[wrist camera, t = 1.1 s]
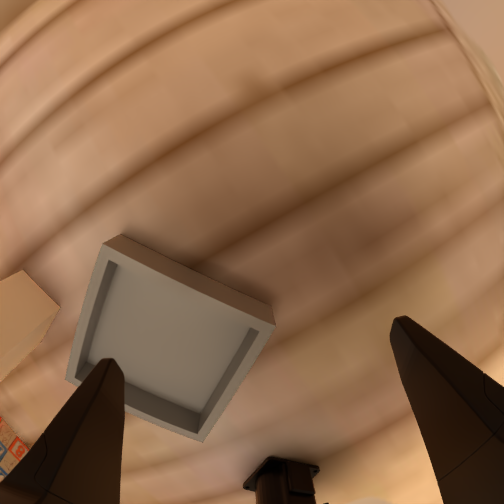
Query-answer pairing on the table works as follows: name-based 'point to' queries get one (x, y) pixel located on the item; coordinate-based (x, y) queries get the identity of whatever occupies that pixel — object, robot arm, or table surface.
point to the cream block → (22, 319)
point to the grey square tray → (167, 336)
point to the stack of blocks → (9, 449)
